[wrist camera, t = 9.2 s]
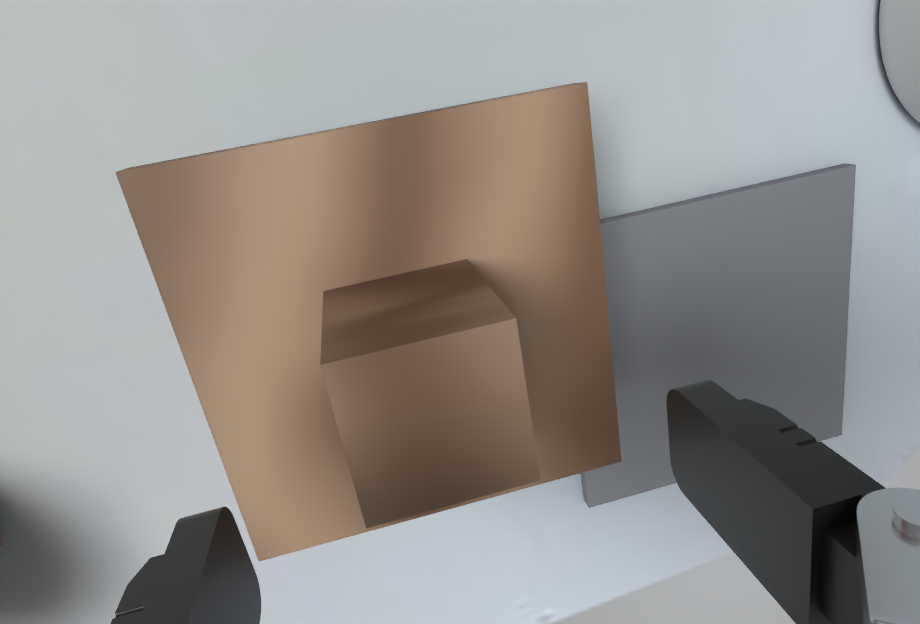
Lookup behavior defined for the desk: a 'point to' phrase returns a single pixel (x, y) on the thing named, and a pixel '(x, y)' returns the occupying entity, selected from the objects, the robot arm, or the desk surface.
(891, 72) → the cylinder vase
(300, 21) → the desk surface
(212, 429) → the lid
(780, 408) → the mat
